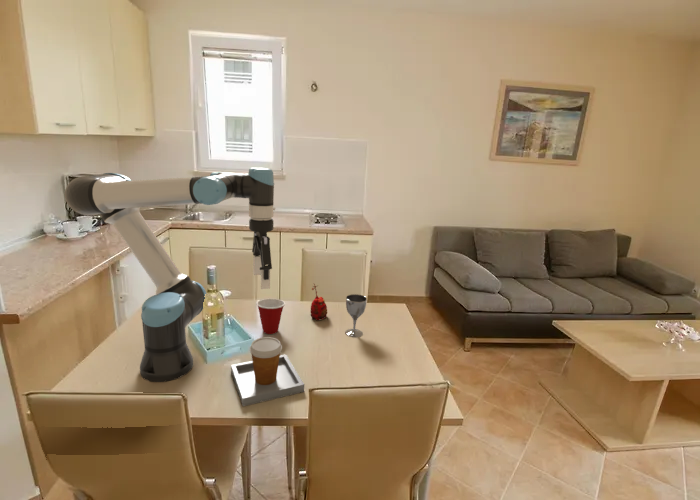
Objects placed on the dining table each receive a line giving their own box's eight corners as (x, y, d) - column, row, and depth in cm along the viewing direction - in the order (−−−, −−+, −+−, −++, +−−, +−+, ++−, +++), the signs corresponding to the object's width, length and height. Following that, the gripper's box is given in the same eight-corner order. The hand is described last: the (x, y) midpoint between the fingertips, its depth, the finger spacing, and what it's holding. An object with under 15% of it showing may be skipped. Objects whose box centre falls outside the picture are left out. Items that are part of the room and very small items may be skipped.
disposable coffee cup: (248, 372, 120) (247, 338, 117) (278, 368, 124) (279, 334, 121) (251, 390, 112) (251, 354, 109) (284, 385, 115) (284, 349, 112)
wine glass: (341, 335, 149) (343, 300, 145) (346, 327, 157) (349, 292, 153) (361, 339, 148) (364, 303, 144) (365, 330, 155) (368, 295, 151)
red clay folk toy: (320, 322, 159) (322, 288, 155) (306, 318, 162) (307, 285, 158) (329, 316, 166) (331, 283, 162) (315, 312, 169) (317, 280, 165)
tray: (242, 406, 106) (242, 398, 106) (231, 371, 122) (230, 364, 121) (304, 391, 114) (304, 384, 114) (285, 360, 130) (286, 354, 129)
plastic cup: (287, 325, 155) (288, 298, 152) (280, 338, 144) (280, 309, 141) (261, 323, 156) (261, 295, 152) (252, 335, 145) (252, 306, 142)
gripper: (282, 225, 112) (281, 293, 117) (265, 210, 134) (265, 268, 139) (256, 226, 109) (256, 296, 114) (243, 211, 131) (244, 270, 136)
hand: (261, 281), depth 127 cm, fingers open, 13 cm apart
